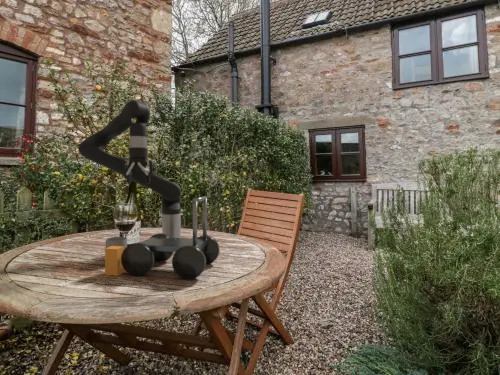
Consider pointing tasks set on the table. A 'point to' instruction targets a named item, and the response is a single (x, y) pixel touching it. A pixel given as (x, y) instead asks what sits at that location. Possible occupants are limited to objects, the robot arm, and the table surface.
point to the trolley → (186, 251)
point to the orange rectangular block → (113, 260)
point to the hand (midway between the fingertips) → (138, 183)
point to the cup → (116, 242)
